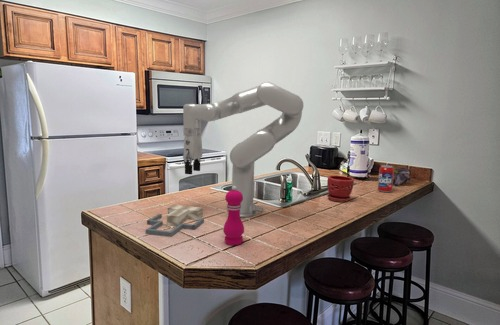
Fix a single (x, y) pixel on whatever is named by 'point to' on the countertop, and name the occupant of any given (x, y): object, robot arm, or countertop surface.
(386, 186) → the soda can
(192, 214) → the t block
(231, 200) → the pepper mill
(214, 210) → the countertop surface
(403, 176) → the decorative flower
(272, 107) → the robot arm
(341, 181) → the plant pot
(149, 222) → the dock
